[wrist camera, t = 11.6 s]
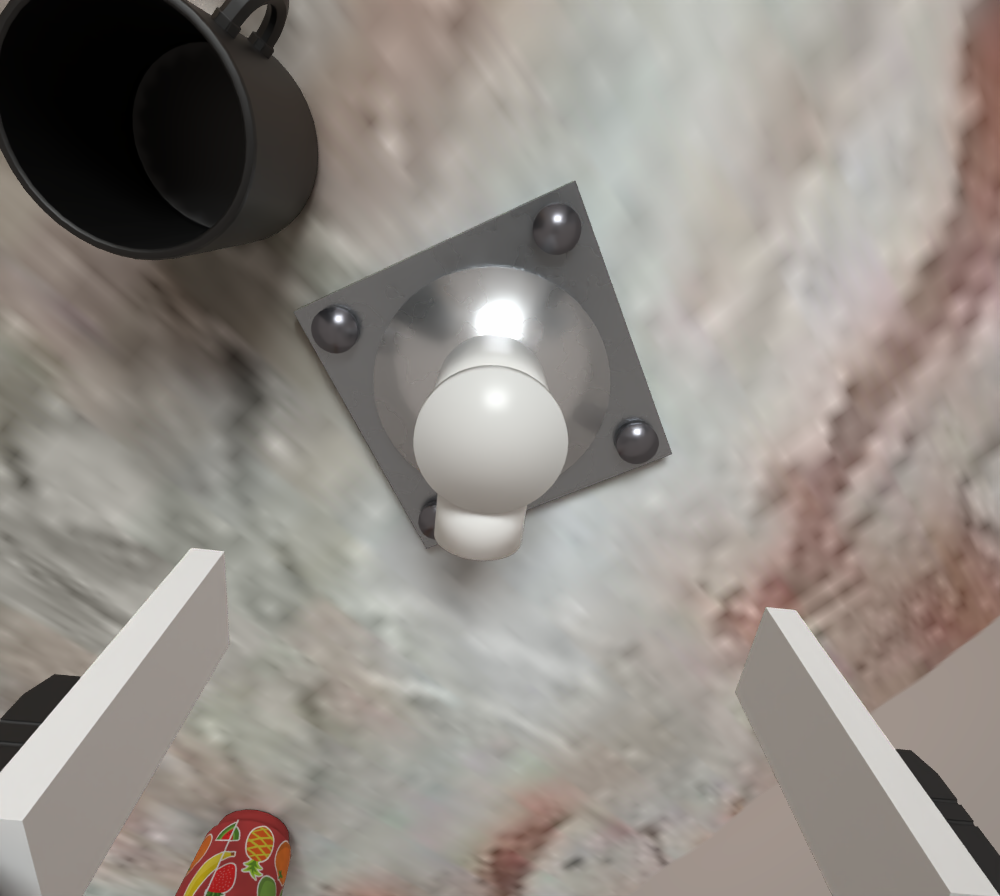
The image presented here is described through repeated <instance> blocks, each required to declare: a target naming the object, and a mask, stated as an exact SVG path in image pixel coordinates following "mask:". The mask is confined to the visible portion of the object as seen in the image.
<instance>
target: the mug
mask: <svg viewBox="0 0 1000 896" xmlns="http://www.w3.org/2000/svg"><path fill="white" fill-rule="evenodd" d="M265 4H268V5H267V10H266V14H265V16H264V19H263V21H262V23H261V25H260V27H259V29H258V30H257V32H252V33H251V35H250V36H249V38H247V37H245V36H243V35H242V34H240V33H239V32H240V30H241V28H240V26H241V25H242V24H243V23H244V21H245V20H246V19H247V18H248V17H249V15H250V14H251V13H252V12H253V11H255V10H256V9H257V8H259V7H260V6H262V5H265ZM288 9H289V0H226V1H225V2H224V3H223V5H222V6H221V7H220V8H218V7H217V8H216V10H215V11H214V13H213V14H212V16H211V15H210V14H208V13H206V12H205V11H203V10H202V9H200V8H198V7H197V6H195V5H194V4H192V3H190V2H189V1H187V0H10V1H9V3H8V4H7V6H6V7H5V8H4V10H3V11H2V13H1V14H0V149H1V151H2V153H3V155H4V157H5V158H6V160H7V162H8V164H9V166H10V168H11V170H12V171H13V173H14V174H15V176H16V177H17V179H18V180H19V182H20V183H21V185H22V186H23V188H24V189H25V191H26V192H27V193H28V194H29V195H30V196H31V197H32V199H33V200H34V201H35V202H36V203H37V204H38V205H39V206H40V207H41V208H42V209H43V211H45V212H46V213H47V214H48V215H49V216H50V217H51V218H52V219H53V220H54V221H56V222H57V223H58V224H59V225H61V226H62V227H63V228H65V229H66V230H68V231H69V232H70V233H72V234H73V235H75V236H77V237H78V238H80V239H82V240H83V241H85V242H87V243H89V244H91V245H93V246H95V247H97V248H99V249H102V250H105V251H108V252H110V253H113V254H116V255H120V256H124V257H129V258H133V259H142V260H164V259H174V258H179V257H184V256H189V255H193V254H198V253H203V252H208V251H212V250H217V249H222V248H227V247H232V246H236V245H241V244H246V243H251V242H255V241H258V240H262V239H265V238H267V237H270V236H272V235H274V234H276V233H278V232H279V231H281V230H282V229H283V228H285V227H286V226H287V225H288V224H290V223H291V222H292V221H293V220H294V218H295V217H296V216H297V215H298V214H299V213H300V211H301V210H302V208H303V207H304V205H305V204H306V202H307V200H308V198H309V195H310V193H311V191H312V188H313V185H314V181H315V177H316V172H317V163H318V144H317V136H316V130H315V125H314V121H313V118H312V115H311V112H310V109H309V107H308V104H307V102H306V100H305V98H304V96H303V94H302V92H301V90H300V88H299V87H298V85H297V84H296V82H295V81H294V79H293V78H292V76H291V75H290V74H289V73H288V71H287V70H286V69H285V68H284V67H283V66H282V64H281V63H280V62H279V61H278V60H277V59H276V58H275V57H273V56H272V54H273V52H274V49H273V47H274V45H275V44H276V42H277V40H278V38H279V37H280V34H281V32H282V30H283V27H284V24H285V21H286V18H287V15H288Z"/></svg>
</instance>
